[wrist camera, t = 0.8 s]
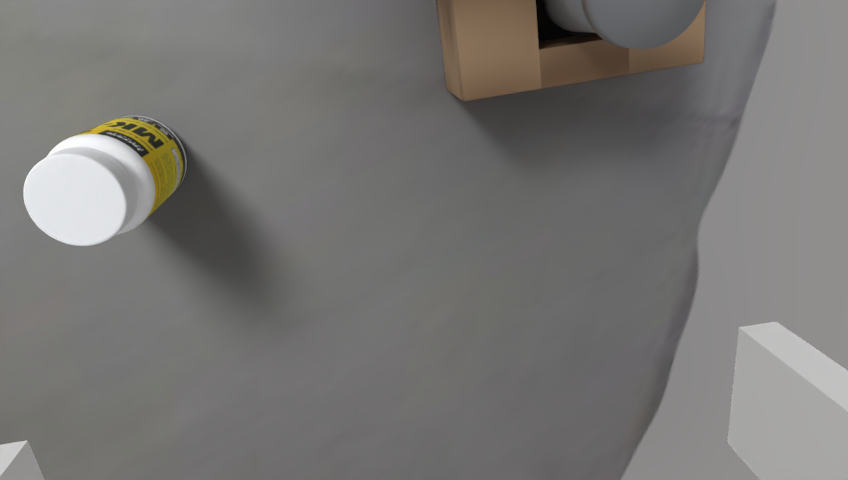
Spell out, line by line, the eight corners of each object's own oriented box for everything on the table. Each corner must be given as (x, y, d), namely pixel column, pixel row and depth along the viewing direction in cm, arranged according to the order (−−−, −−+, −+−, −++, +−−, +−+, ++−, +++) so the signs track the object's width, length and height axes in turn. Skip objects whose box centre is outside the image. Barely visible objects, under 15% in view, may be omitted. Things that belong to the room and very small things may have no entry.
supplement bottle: (190, 121, 31) (138, 153, 24) (187, 204, 33) (138, 261, 25) (93, 107, 31) (8, 136, 23) (95, 194, 32) (15, 249, 24)
